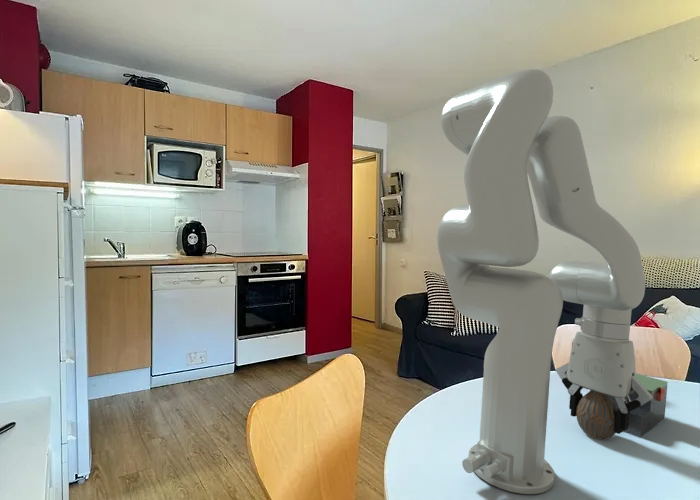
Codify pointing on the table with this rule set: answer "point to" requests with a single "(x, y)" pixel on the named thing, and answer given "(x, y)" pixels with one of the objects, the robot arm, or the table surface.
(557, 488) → the table surface
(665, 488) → the table surface
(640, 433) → the stand
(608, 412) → the vase
